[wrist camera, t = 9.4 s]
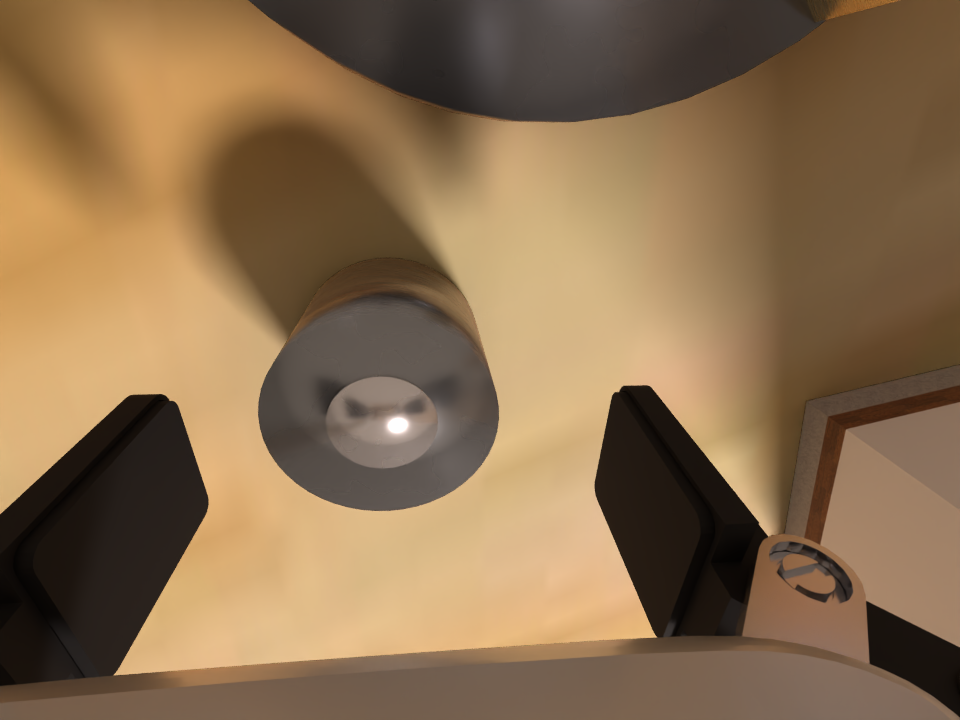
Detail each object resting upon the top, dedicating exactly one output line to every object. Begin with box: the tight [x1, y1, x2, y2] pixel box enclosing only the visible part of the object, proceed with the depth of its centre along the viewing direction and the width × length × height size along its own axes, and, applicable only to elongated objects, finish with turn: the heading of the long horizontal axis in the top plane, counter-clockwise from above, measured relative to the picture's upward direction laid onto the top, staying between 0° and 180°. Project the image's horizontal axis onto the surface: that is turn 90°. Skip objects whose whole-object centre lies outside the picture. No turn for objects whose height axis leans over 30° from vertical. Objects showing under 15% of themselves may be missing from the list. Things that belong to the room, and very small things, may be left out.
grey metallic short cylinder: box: [258, 258, 499, 511], centre depth 14 cm, size 6×6×5 cm
